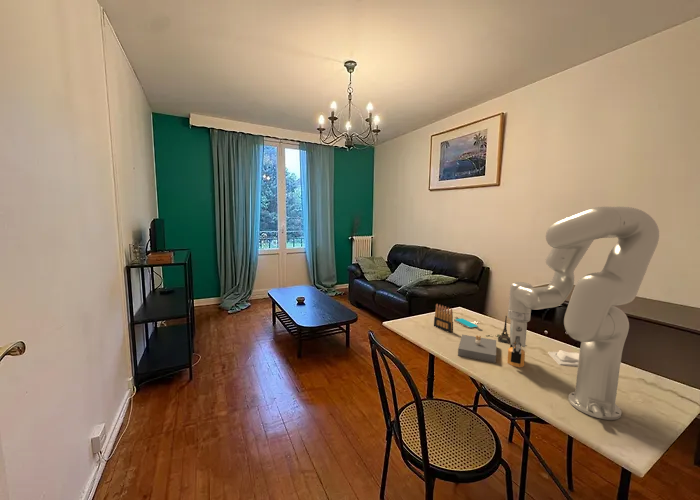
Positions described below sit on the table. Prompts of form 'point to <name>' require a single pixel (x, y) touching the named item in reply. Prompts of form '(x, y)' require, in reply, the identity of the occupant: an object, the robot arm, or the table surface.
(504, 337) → the eiffel tower figurine
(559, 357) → the light switch
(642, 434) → the table surface
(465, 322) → the cyan flat board
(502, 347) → the table surface
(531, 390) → the table surface
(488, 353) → the box
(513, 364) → the orange wooden cylinder
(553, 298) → the robot arm
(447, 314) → the ammunition clip
